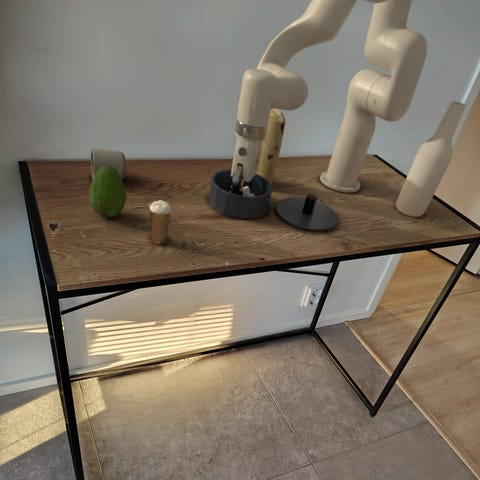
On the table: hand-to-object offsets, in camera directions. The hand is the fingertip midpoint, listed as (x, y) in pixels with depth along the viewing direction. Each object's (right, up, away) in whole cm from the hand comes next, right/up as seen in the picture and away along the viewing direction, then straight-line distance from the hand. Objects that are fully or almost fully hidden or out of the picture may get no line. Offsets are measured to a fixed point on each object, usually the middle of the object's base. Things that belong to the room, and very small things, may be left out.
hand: (239, 197), depth 115 cm
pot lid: (+18, -4, +2) cm, 19 cm away
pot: (0, -1, +1) cm, 2 cm away
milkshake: (-18, -14, -17) cm, 29 cm away
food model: (+6, +8, +13) cm, 16 cm away
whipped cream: (0, -1, +1) cm, 2 cm away
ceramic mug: (-35, +6, +1) cm, 35 cm away
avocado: (-30, -8, -13) cm, 34 cm away
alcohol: (+51, +1, +16) cm, 53 cm away
